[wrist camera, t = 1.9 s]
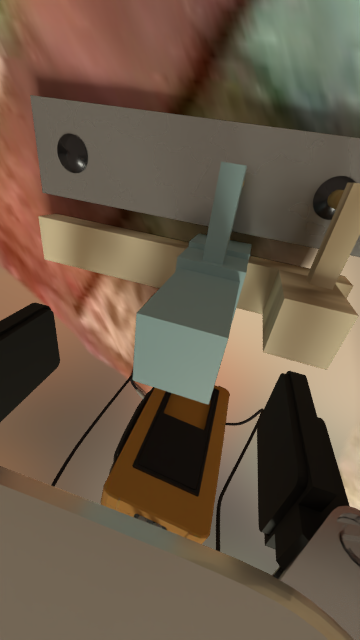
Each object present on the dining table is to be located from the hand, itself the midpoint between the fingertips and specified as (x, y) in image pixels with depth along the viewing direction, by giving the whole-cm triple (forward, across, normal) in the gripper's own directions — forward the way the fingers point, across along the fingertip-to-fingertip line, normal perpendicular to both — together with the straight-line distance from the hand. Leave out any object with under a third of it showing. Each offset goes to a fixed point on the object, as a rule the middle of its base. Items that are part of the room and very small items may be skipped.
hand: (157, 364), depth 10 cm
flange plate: (+13, +2, -7) cm, 14 cm away
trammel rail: (+13, +2, -3) cm, 13 cm away
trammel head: (+12, -1, -2) cm, 12 cm away
